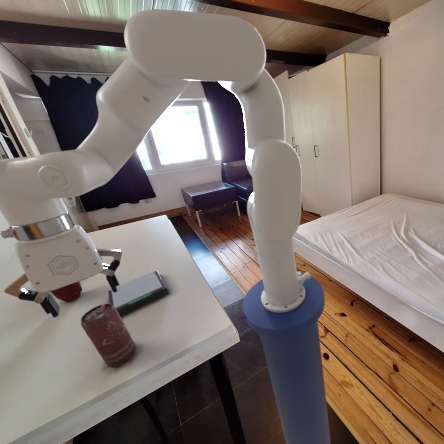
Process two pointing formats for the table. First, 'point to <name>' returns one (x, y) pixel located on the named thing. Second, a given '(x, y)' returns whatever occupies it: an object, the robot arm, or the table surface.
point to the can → (109, 335)
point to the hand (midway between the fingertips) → (87, 300)
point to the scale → (137, 293)
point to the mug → (68, 292)
